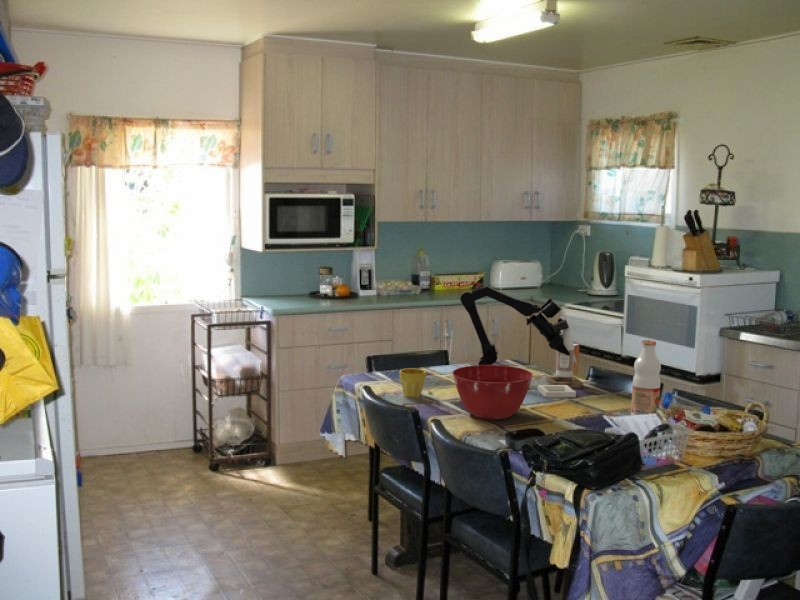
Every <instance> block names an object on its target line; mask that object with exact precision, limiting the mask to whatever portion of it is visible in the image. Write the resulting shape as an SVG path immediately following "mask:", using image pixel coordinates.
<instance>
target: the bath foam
mask: <svg viewBox="0 0 800 600" xmlns="http://www.w3.org/2000/svg"><path fill="white" fill-rule="evenodd" d="M562 334H563V338H564V345H565V347H566V348H567V350H568V351H569V353H570V355H569V356H567V355H565V354H563V353H561V352H559V351H557V350H556V365H555V375H556V377H572V376H573V375H574V374H573V363H574V344H575V343H574V342H573V340H572V338H571V328H570V327H569V328H567V329H564V330H562ZM573 343H574V344H573Z"/></svg>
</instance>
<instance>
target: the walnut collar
mask: <svg viewBox="0 0 800 600" xmlns="http://www.w3.org/2000/svg"><path fill="white" fill-rule="evenodd" d="M546 382H547V383H548V384H549V385H567V386H569V387H570V388H571V389H574V388H576V389H577V388H580V389H581V388H584V383H583V382H582V381H581V380H579V379H578V378H576V377H575V376H572V377H559V376H546Z"/></svg>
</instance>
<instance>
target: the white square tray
mask: <svg viewBox="0 0 800 600" xmlns="http://www.w3.org/2000/svg"><path fill="white" fill-rule="evenodd" d="M537 390H538V392H539V393H541V395H543V396H544V397H545V398H577V392H576V390H574V388H570V387H569V386H567V385H550V384H549V385H546V384H541V385H539V384H538V385H537Z"/></svg>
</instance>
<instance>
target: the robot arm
mask: <svg viewBox="0 0 800 600" xmlns="http://www.w3.org/2000/svg"><path fill="white" fill-rule="evenodd" d="M485 297H488V298H490V299H493V300H495V301H497V302H499V303H501V304H504V305H507V306H509V307H511V308H512V309H514V310H516V311H517V312H518V313H520V314H521V315H523V316H524V317H526V319H525V320H526V326H529V325H530V324H532V326H534V327H535V329H537V331H538V332H539V333H540V335H542V336H543V338H545V340H546V341H547V343H548V346H549V348H550V349H551V350H555V351H556V352H557V351H559V352H561V353H563V354H565V355H567V356H569V355H570V353H569V351H568V350H567V348H566V347H565V345H564V338H563V330H564V329H567V328H570V326H569V324H568V321H567V319H563V318H561V317H560V318H558V319H557V322H555V323H552V322H551V321H549V320H548V319H553V318H554V317H555V316H556V315H558V314H559V313H560V312H561V311H562V310H563V309H562V308H561V306H560V305H559V304H558V303H557V302H555V301H554V300H553V299H552V298H551V297H549V298H548V299H547V300H546V301H545V302H544V303H543V304H542V305H540V304H534V303H533V302H532V301H529V300H525V299H521V298H516V297H513V296H511V295H508V294H506V293H504V292H501V291H499V290H497V289H495V288H493V287H491V286H489V285H484V286H483V287H479V288H477V289H474V290H465V291H464V292H463V293H462V294H461V295H460V302H461V303H460V304H462V306H463V308H464V309H465V310H466V312H467V313H468V315H469V317H470V320H471V322H472V325H473V328H474V329H475V332H476V335H477V337H478V340H479V343H480V346H481V352H482V356H481V357H480V358H479V360H478V362H477V363H478V364H477V365H494V363H496V362H497V360H498V356H499V350H498V348H497V345H496V342H493V343H492V342H491V340H490V339H489V335H488V334H487V331H486V329H485V328H486V327H485V325H484V323H483V321H482V318H481V316H480V313H479V310H478V306H477V301H478V300H480V299H482V298H485Z"/></svg>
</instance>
